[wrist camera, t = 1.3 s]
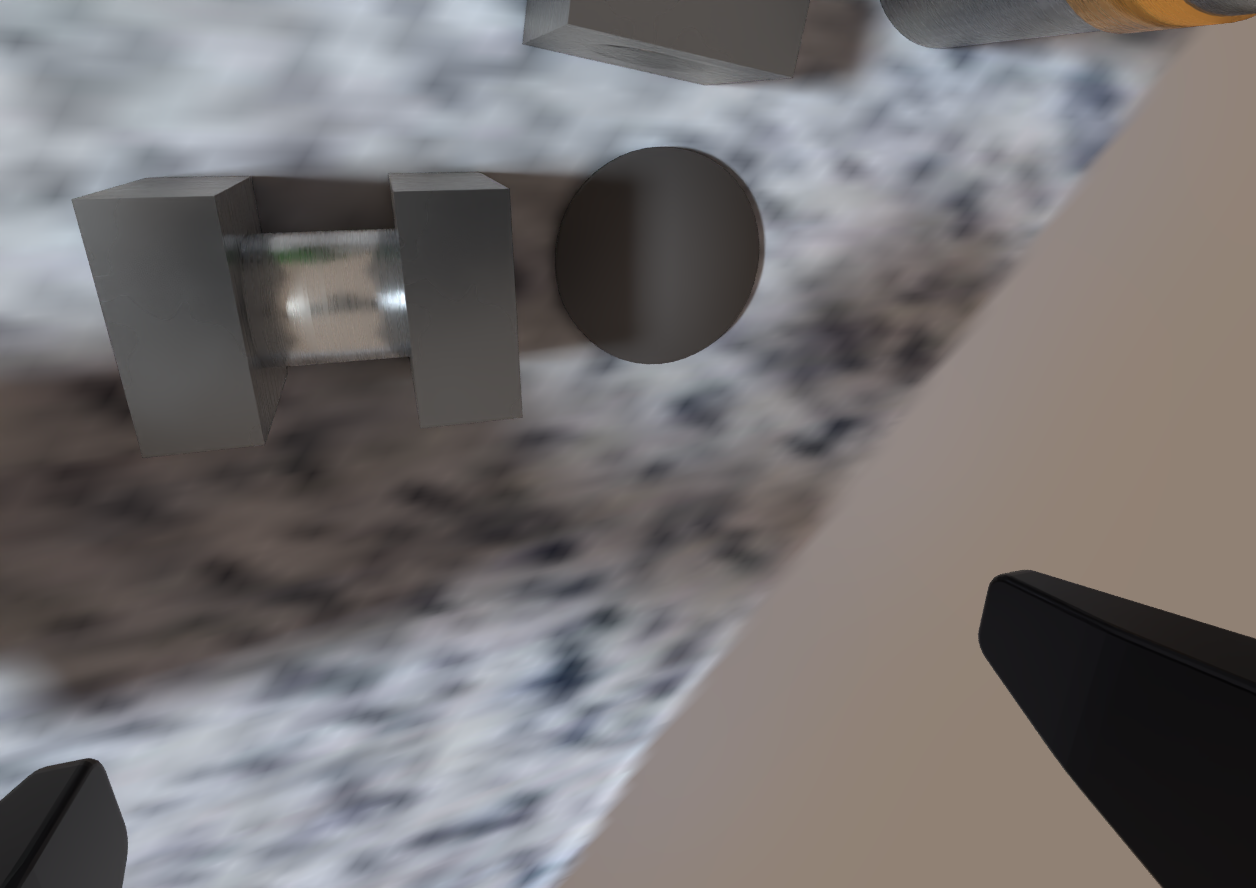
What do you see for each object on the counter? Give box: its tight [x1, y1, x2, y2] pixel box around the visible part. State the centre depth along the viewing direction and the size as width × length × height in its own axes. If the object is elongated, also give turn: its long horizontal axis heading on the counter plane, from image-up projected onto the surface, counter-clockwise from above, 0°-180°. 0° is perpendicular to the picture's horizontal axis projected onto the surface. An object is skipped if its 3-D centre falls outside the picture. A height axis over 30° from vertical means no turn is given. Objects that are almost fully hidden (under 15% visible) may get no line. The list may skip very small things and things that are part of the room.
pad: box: [555, 147, 759, 364], centre depth 19 cm, size 5×5×1 cm
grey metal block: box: [72, 172, 522, 458], centre depth 16 cm, size 7×4×4 cm, turn 90°
